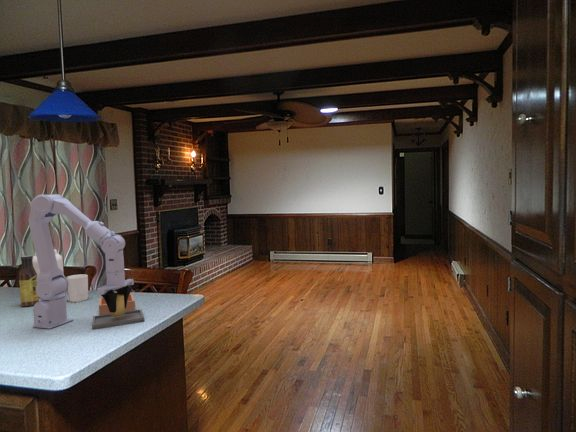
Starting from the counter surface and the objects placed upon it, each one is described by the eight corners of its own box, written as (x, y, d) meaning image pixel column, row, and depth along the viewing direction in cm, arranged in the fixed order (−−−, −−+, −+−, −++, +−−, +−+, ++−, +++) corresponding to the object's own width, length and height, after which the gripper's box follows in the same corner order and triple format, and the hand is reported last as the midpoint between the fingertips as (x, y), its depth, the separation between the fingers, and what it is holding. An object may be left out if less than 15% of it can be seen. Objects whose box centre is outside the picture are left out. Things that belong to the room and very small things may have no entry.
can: (48, 298, 177) (45, 252, 175) (25, 297, 180) (22, 251, 179) (71, 291, 189) (68, 247, 187) (49, 290, 192) (46, 247, 191)
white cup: (93, 297, 176) (91, 274, 175) (82, 302, 168) (80, 278, 168) (75, 297, 177) (74, 274, 176) (64, 302, 169) (62, 278, 168)
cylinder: (117, 317, 139) (116, 298, 139) (108, 315, 141) (107, 297, 141) (127, 313, 143) (126, 294, 143) (118, 312, 145) (117, 294, 145)
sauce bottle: (37, 305, 166) (33, 256, 164) (19, 307, 163) (15, 258, 162) (40, 301, 172) (37, 254, 170) (23, 303, 169) (19, 255, 168)
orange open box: (135, 311, 153) (134, 300, 152) (99, 316, 148) (98, 305, 148) (133, 303, 164) (132, 293, 163) (99, 308, 159) (99, 297, 159)
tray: (144, 321, 140) (144, 317, 140) (92, 329, 134) (92, 325, 134) (141, 313, 150) (141, 309, 150) (93, 320, 144) (92, 316, 144)
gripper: (108, 275, 133) (110, 317, 134) (139, 267, 146) (141, 305, 147) (91, 274, 135) (94, 315, 136) (123, 266, 149) (126, 303, 150)
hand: (117, 310), depth 142 cm, fingers closed on cylinder, 4 cm apart
